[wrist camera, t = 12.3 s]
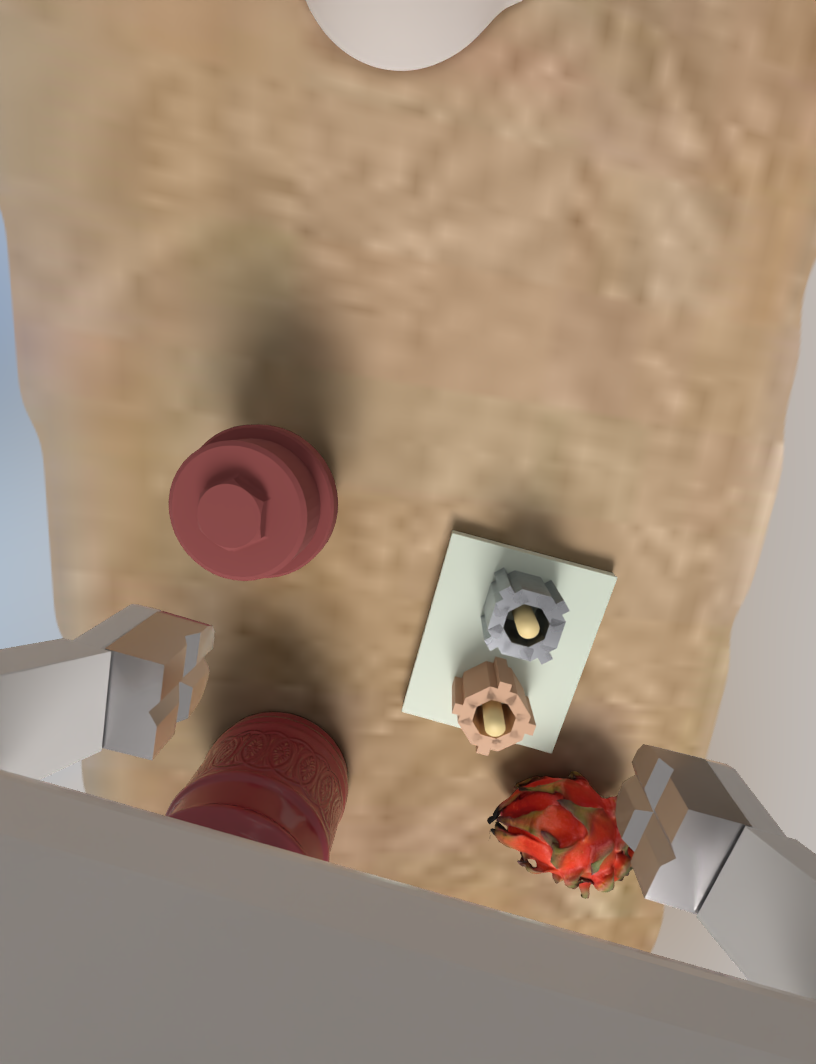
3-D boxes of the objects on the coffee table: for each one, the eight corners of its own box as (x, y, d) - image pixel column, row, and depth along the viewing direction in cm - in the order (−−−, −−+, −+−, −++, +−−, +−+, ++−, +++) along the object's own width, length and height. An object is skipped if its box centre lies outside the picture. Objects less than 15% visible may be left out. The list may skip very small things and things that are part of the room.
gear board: (452, 529, 40) (452, 549, 34) (612, 572, 40) (641, 600, 33) (403, 703, 44) (395, 749, 38) (548, 744, 43) (564, 797, 37)
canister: (318, 852, 48) (244, 1094, 31) (194, 794, 48) (49, 1006, 30) (374, 745, 45) (326, 948, 28) (242, 683, 45) (110, 849, 27)
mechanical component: (238, 415, 39) (363, 433, 39) (231, 538, 42) (349, 556, 41) (144, 413, 27) (324, 439, 27) (141, 585, 30) (307, 613, 29)
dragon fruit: (625, 802, 46) (492, 770, 48) (653, 773, 39) (499, 738, 42) (628, 917, 40) (478, 874, 43) (662, 904, 34) (484, 855, 36)
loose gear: (496, 565, 39) (501, 583, 35) (559, 581, 39) (573, 602, 34) (478, 623, 40) (481, 648, 36) (539, 639, 40) (550, 667, 36)
